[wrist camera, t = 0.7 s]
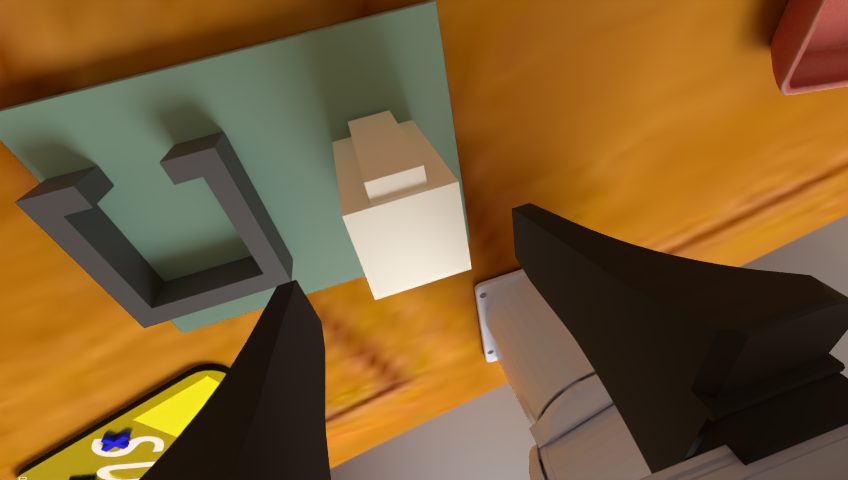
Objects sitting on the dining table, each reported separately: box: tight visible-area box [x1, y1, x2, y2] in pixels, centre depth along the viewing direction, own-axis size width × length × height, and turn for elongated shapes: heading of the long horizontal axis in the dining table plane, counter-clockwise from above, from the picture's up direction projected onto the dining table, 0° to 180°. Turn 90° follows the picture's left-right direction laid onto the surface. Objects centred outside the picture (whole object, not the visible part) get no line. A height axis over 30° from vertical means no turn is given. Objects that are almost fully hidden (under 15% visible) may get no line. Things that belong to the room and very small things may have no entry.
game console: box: [16, 364, 230, 480], centre depth 28 cm, size 18×11×2 cm, turn 119°
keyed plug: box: [332, 110, 472, 300], centre depth 16 cm, size 5×4×7 cm
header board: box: [0, 0, 470, 333], centre depth 18 cm, size 13×18×3 cm
